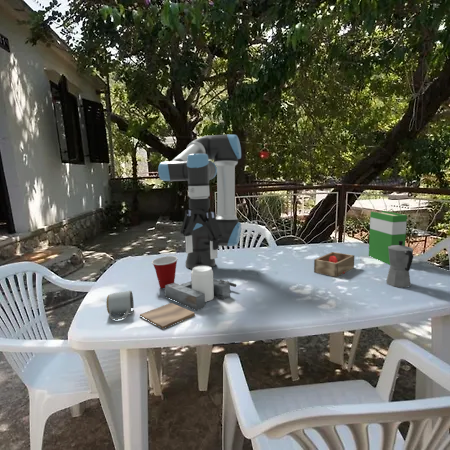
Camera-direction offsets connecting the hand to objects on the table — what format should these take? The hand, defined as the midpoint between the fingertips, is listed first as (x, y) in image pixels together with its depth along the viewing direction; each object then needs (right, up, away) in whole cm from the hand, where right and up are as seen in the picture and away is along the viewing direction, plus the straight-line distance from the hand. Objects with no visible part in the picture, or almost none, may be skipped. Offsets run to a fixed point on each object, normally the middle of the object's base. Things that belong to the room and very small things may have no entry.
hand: (201, 255), depth 123 cm
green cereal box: (+91, -7, +48) cm, 103 cm away
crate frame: (+60, -10, +34) cm, 70 cm away
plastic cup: (-16, -15, +18) cm, 28 cm away
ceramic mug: (-27, -20, -9) cm, 34 cm away
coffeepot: (+80, -13, +12) cm, 82 cm away
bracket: (+60, -11, +34) cm, 70 cm away
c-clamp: (0, -16, +7) cm, 18 cm away
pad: (-11, -19, -11) cm, 25 cm away
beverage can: (+1, -17, +3) cm, 17 cm away
